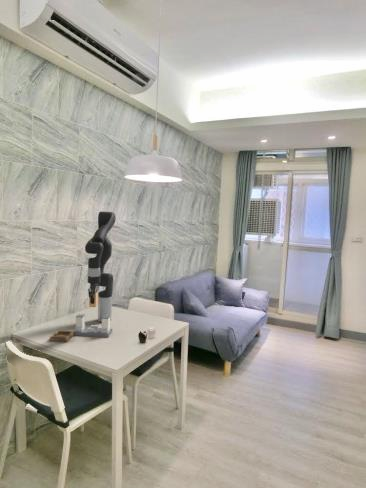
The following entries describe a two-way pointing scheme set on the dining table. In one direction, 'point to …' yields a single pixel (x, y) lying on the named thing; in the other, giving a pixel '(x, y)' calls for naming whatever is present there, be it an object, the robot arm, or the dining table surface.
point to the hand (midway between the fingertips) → (93, 302)
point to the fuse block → (92, 327)
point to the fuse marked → (94, 300)
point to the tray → (62, 336)
